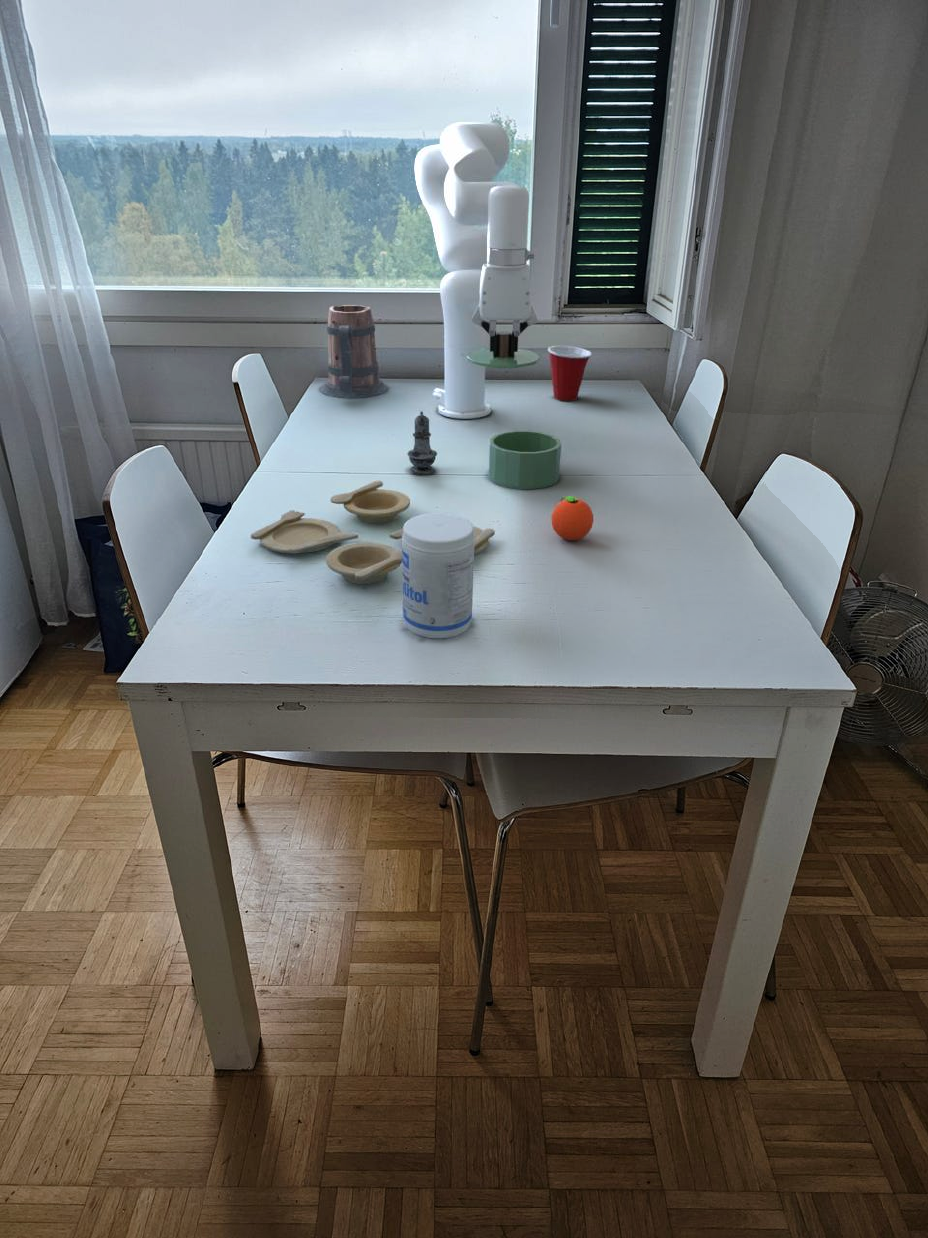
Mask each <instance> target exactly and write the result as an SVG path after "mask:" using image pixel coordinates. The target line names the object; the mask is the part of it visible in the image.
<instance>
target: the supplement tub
mask: <svg viewBox="0 0 928 1238" xmlns="http://www.w3.org/2000/svg"><path fill="white" fill-rule="evenodd" d="M473 526H474V525H473V523H472V522H471V521H470V520H468V519H467V518H465V517H463V516H461V515H456V514H453V513H447V512H445V513H444V512H429V513H422V514H419V515H416V516H413V517H411V518H409V519H408V520H407V521H405V523H404V524H403V527H402V529H403V536H402V538H401V549H402V563H401V573H402V574H401V577H402V580H401V586H402V588H401V589H402V620H403V621H402V622H403V623H404V626H405V628H407V629H408V630H409V631H410V632H411V633H413V634H415V635H416V636H420V637H423V638H429V639H447V638H452V637H456V636H458V635H460V634H462V633H464V632H465V631H467V629H469V627H470V626H471V623H472V620H473V598H474V597H473V595H474V593H473V592H474V570H475V567H474V566H475V555H474V539H475V537H474V527H473Z"/></svg>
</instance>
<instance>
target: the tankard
mask: <svg viewBox="0 0 928 1238" xmlns="http://www.w3.org/2000/svg"><path fill="white" fill-rule="evenodd" d="M327 318H328V319H327V323H326V333H327V352H328V353H327V356H328V357H327V359H328V362H327V372H328V379H326V380H325V382H324V384H323V386H322V387H321V389H320V390H321V392H322V393H323V394H325V395H327V396H330V397H336V398H343V399H345V398H346V399H358V398H360V399H361V398H369V397H374V396H379V395H381V394H383V393H385V392H386V391H388V387H387V385H385V384H384V382H383V380H382V379H381V378H380V377H379V362H378V361H377V348H376V334H375V332H376V324H375V322H374V319H373V318H374V317H373V314H372V308H371V307H370V306H366V305H365V306H364V305H359V304H343V305H339V306H338V305H337V306H335V305H334V306H330V307H329V308H328V317H327Z"/></svg>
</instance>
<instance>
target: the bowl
mask: <svg viewBox="0 0 928 1238" xmlns="http://www.w3.org/2000/svg"><path fill="white" fill-rule="evenodd" d="M488 447H489V448H488V449H489V450H488V477H489V479H490V481H491V482H493V483H494V484H496V485H499V486H501V487H504V488H510V489H514V490H515V489H516V490H538V489H544V488H548V487H551V486H553V485H554V484H556V483H557V482H558V481H559V478H560V471H561V458H562V457H561V456H562V442H561V439H560V438H558V437H557V436H555V435H553V434H549V433H546V432H542V431H536V430H510V431H509V430H508V431H503V432H500V433H497V434H494V435H493V436H491V437H490V438H489V444H488Z"/></svg>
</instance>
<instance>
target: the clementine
mask: <svg viewBox="0 0 928 1238" xmlns="http://www.w3.org/2000/svg"><path fill="white" fill-rule="evenodd" d="M550 519H551V526H552V529H553V531H554V532H555V533H556V534H557V535H558V537H560V538H561V539H563V540H565V541H566V540H567V541H578V540H580V539H583V538H585V537H586V536H587V535H588V534H589V533H590V531H591V530H592V528H593V524H594V513H593V511H592V508H591V507H590V505H589V504H588V503H587V502H586V501H584V500H583V499H581V498H576V497H575V496H569V495H568V496H562V497H561V498H560V500H559V503H558V504H557V505H555V506H554V509H553V511H552V513H551V518H550Z"/></svg>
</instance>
